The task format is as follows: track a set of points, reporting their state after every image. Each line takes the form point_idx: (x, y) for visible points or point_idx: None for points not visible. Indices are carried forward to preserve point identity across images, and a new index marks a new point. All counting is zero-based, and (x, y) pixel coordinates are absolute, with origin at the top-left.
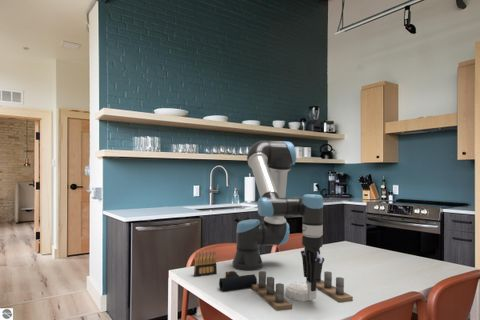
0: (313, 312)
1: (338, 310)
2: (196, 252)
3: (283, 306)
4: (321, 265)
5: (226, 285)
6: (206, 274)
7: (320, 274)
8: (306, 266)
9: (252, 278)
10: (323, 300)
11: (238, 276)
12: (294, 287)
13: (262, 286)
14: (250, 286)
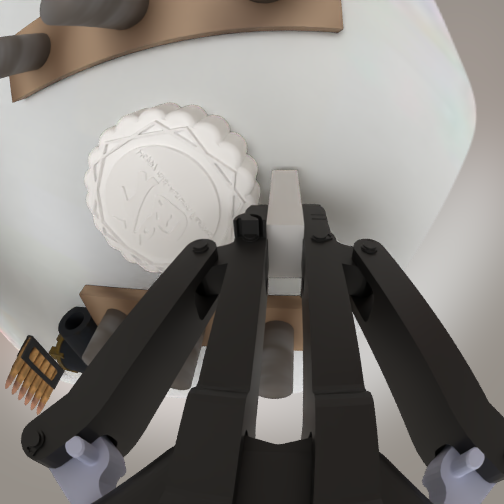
0: (394, 240)
1: (428, 118)
2: (40, 411)
3: None
4: (470, 390)
5: None
6: (47, 355)
7: (417, 297)
8: (180, 346)
9: (87, 342)
10: (280, 102)
11: None
12: (163, 247)
13: None
14: None
